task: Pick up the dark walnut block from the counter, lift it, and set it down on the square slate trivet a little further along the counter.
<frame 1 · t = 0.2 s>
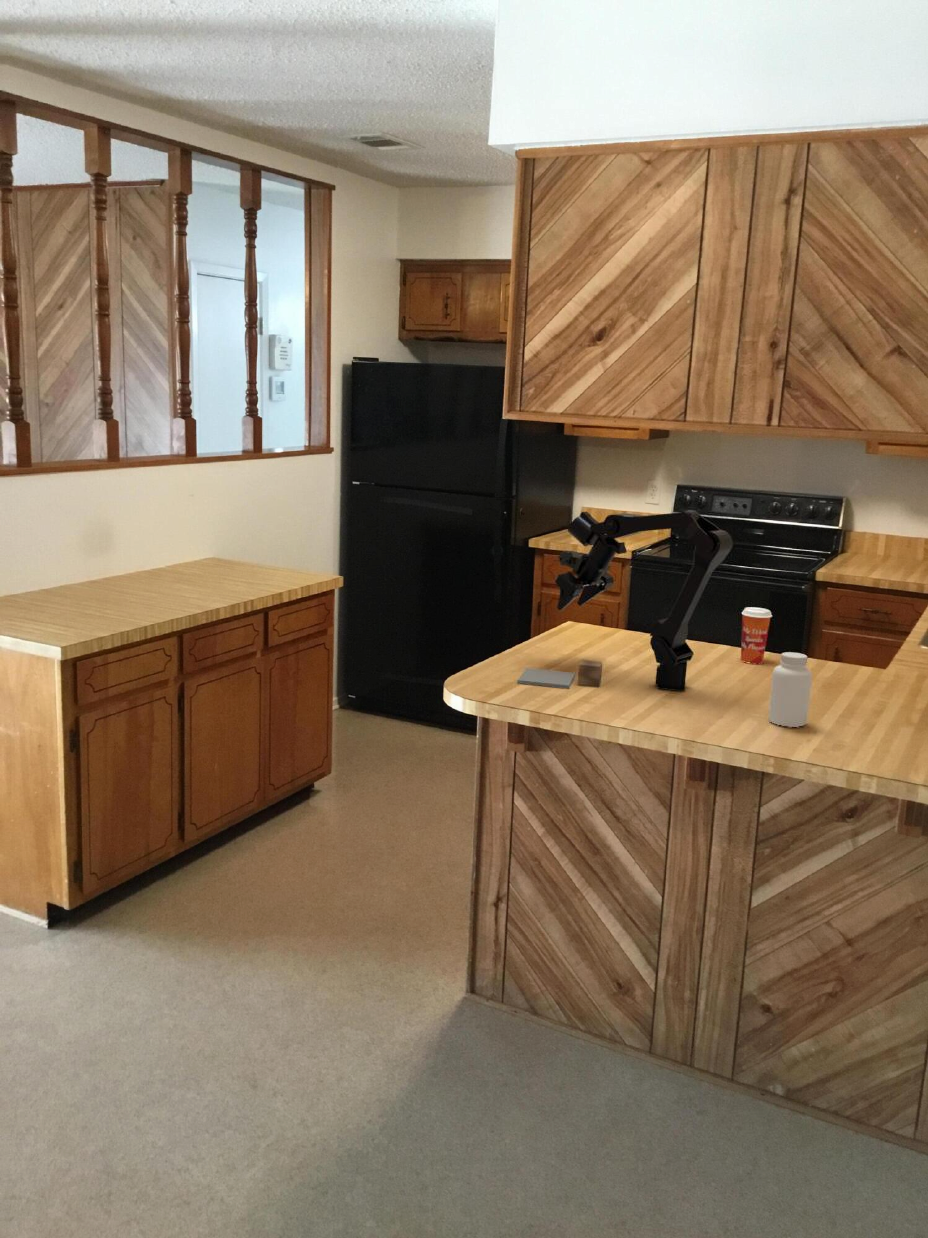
hand: (568, 607, 270), 14 cm above the table, tool tilted 30°, fingers open, 9 cm apart
pill bottle: (786, 723, 230), on the table
paper cup: (751, 662, 284), on the table
slate trivet: (546, 679, 255), on the table
walnut block: (589, 683, 254), on the table
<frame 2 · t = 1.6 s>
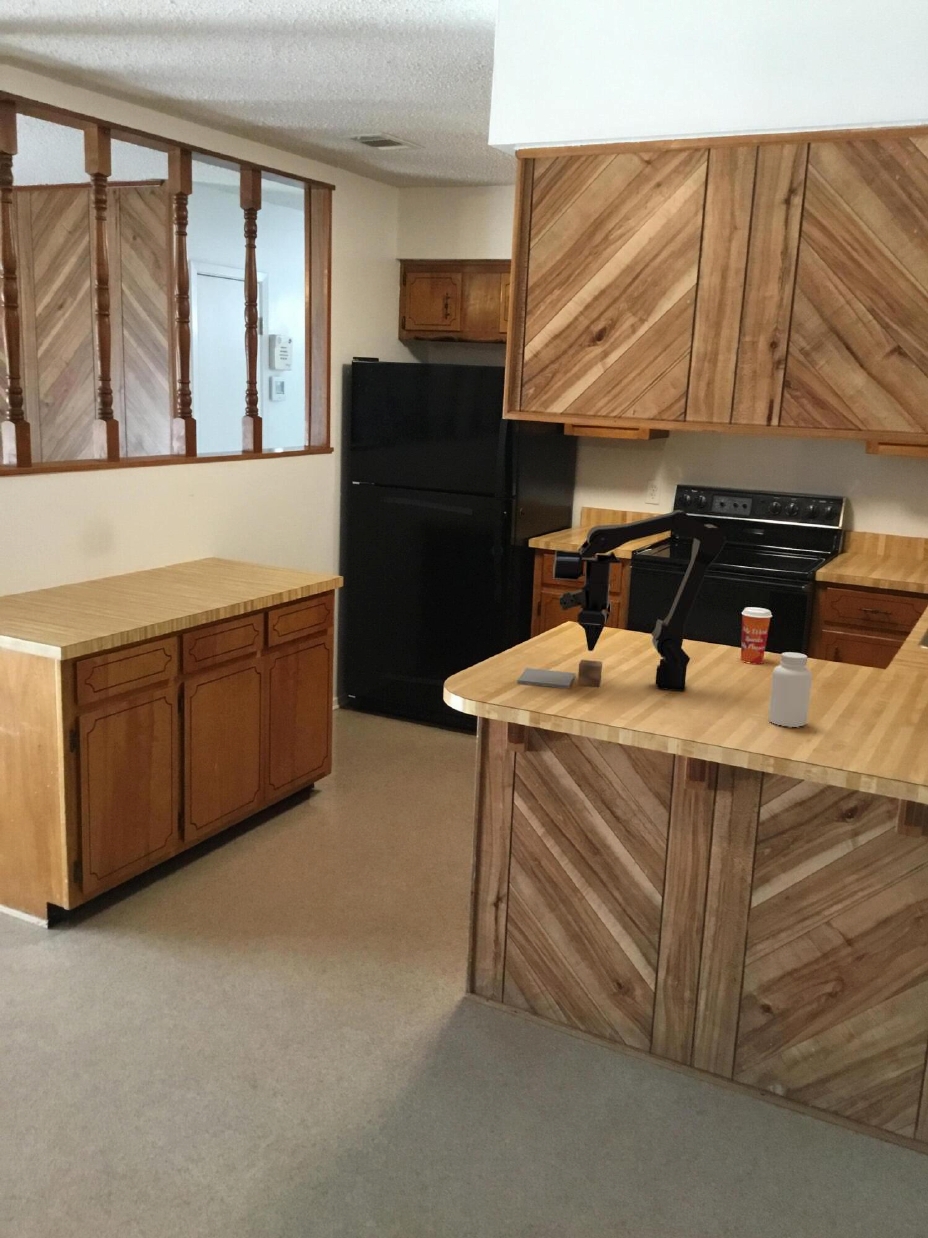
hand: (592, 646, 252), 9 cm above the table, tool pointing down, fingers open, 9 cm apart
nothing on the table moved.
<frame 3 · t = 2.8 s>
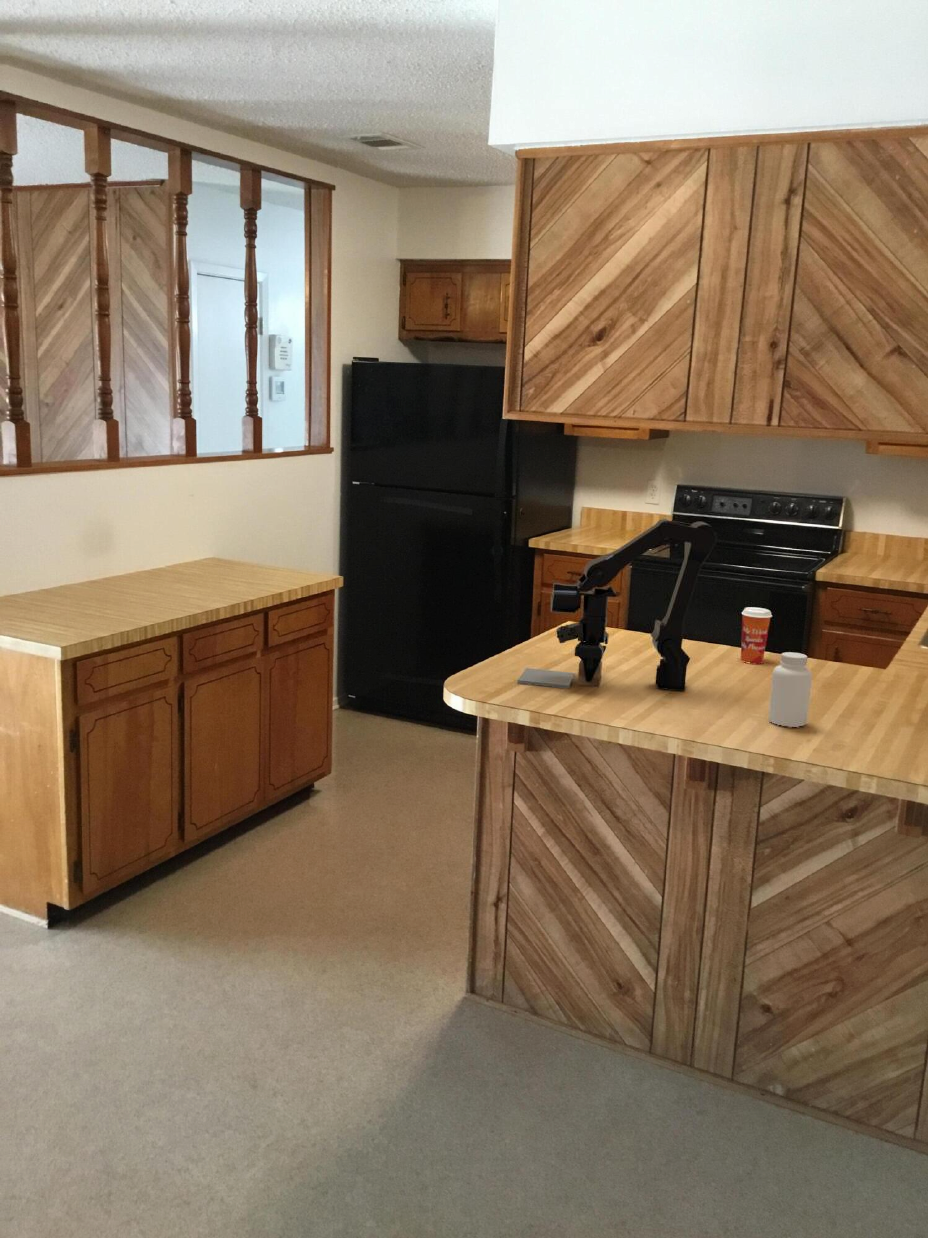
hand: (589, 678, 254), 1 cm above the table, tool pointing down, fingers closed on walnut block, 5 cm apart
walnut block: (589, 683, 254), on the table, touching gripper
everything else where it was.
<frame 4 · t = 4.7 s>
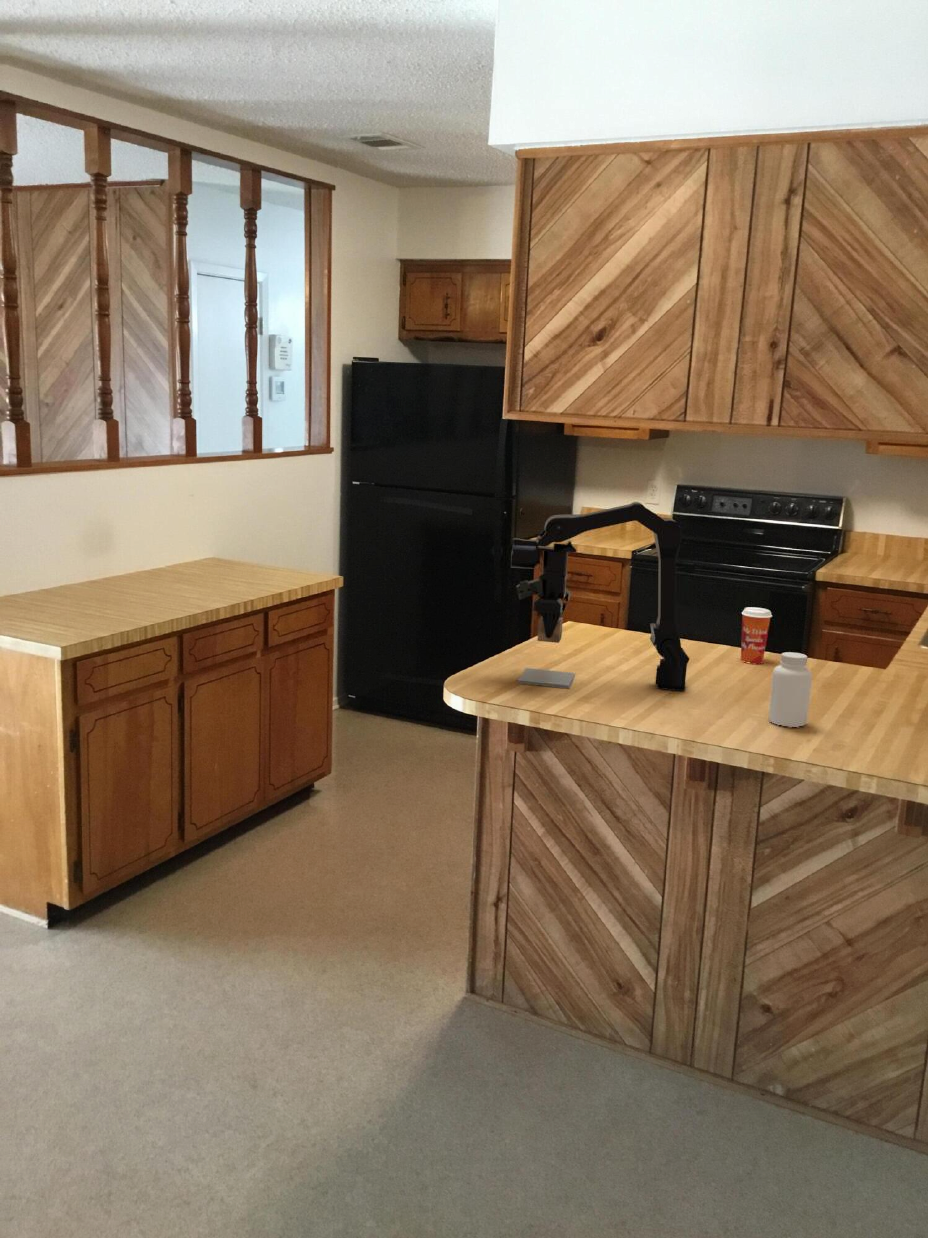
hand: (549, 635, 253), 11 cm above the table, tool pointing down, fingers closed on walnut block, 5 cm apart
walnut block: (549, 639, 253), point 10 cm above the table, touching gripper
everything else where it was.
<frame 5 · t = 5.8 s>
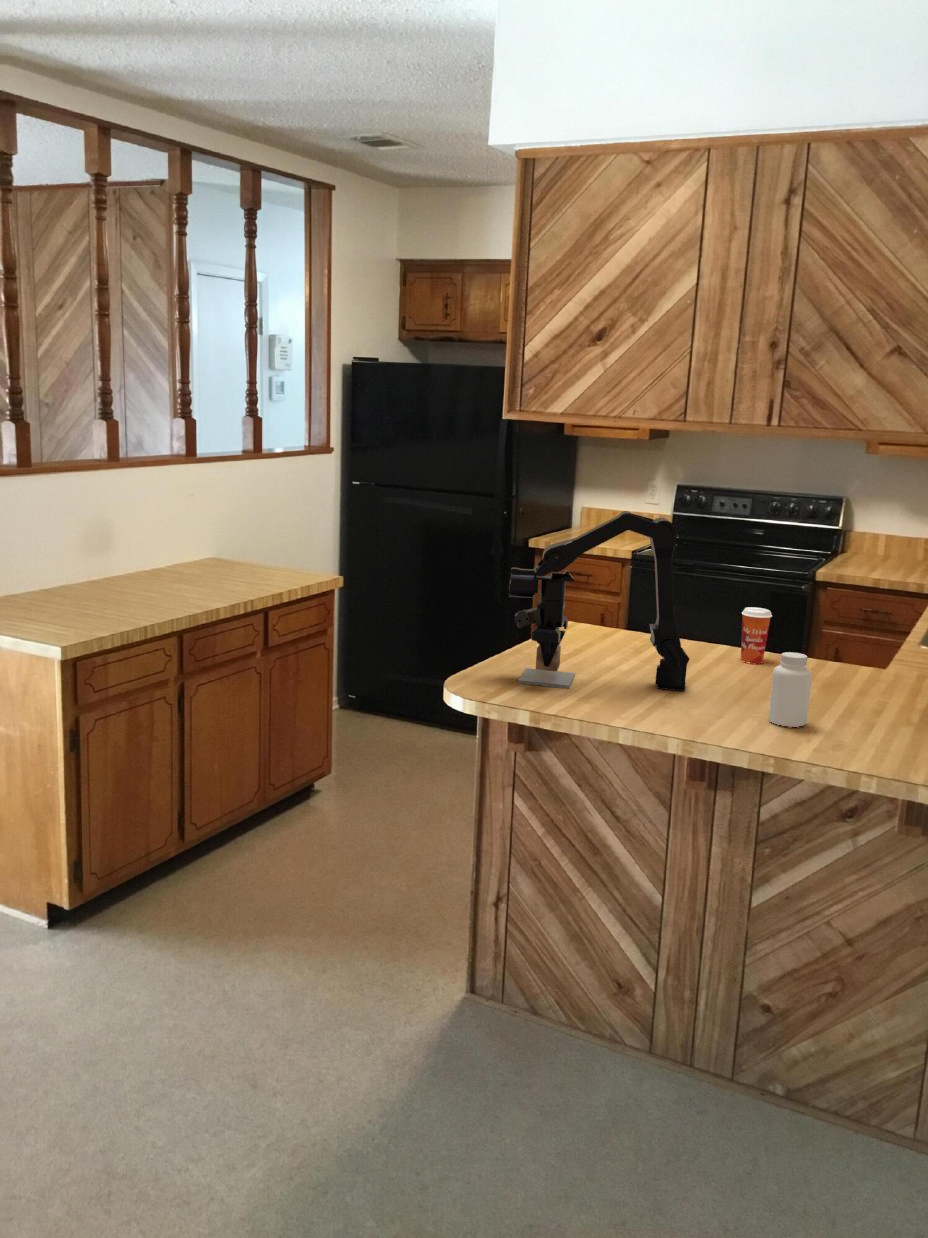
hand: (548, 663, 254), 4 cm above the table, tool pointing down, fingers closed on walnut block, 5 cm apart
walnut block: (547, 667, 254), point 3 cm above the table, touching gripper
everything else where it was.
when the fingers open (3 cm above the table, at t = 6.4 s): walnut block drops 1 cm, resting on slate trivet.
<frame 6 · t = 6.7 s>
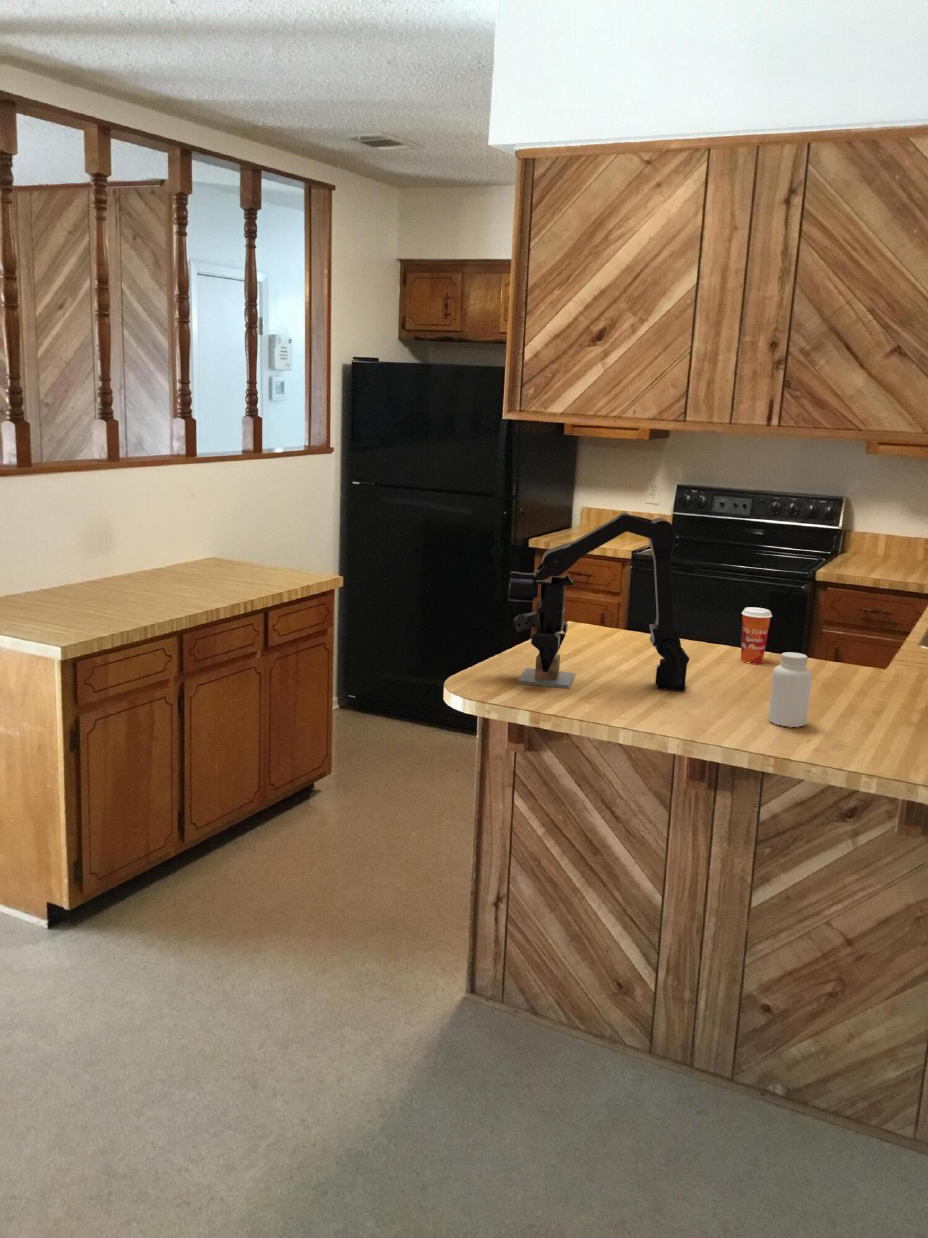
hand: (547, 667, 254), 3 cm above the table, tool pointing down, fingers open, 8 cm apart
walnut block: (546, 676, 255), point 1 cm above the table, touching slate trivet
everything else where it was.
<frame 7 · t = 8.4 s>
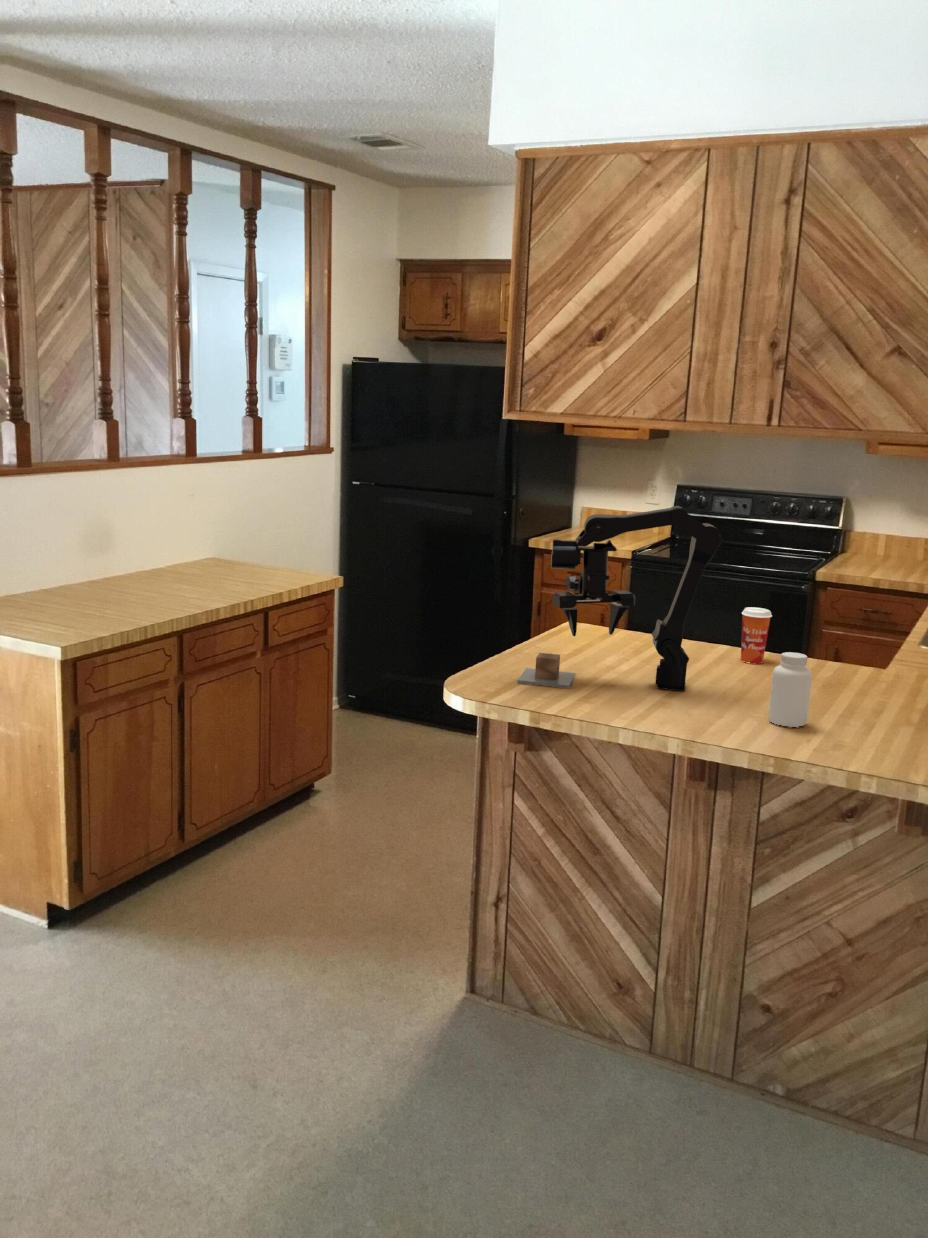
hand: (592, 635, 253), 11 cm above the table, tool pointing down, fingers open, 9 cm apart
nothing on the table moved.
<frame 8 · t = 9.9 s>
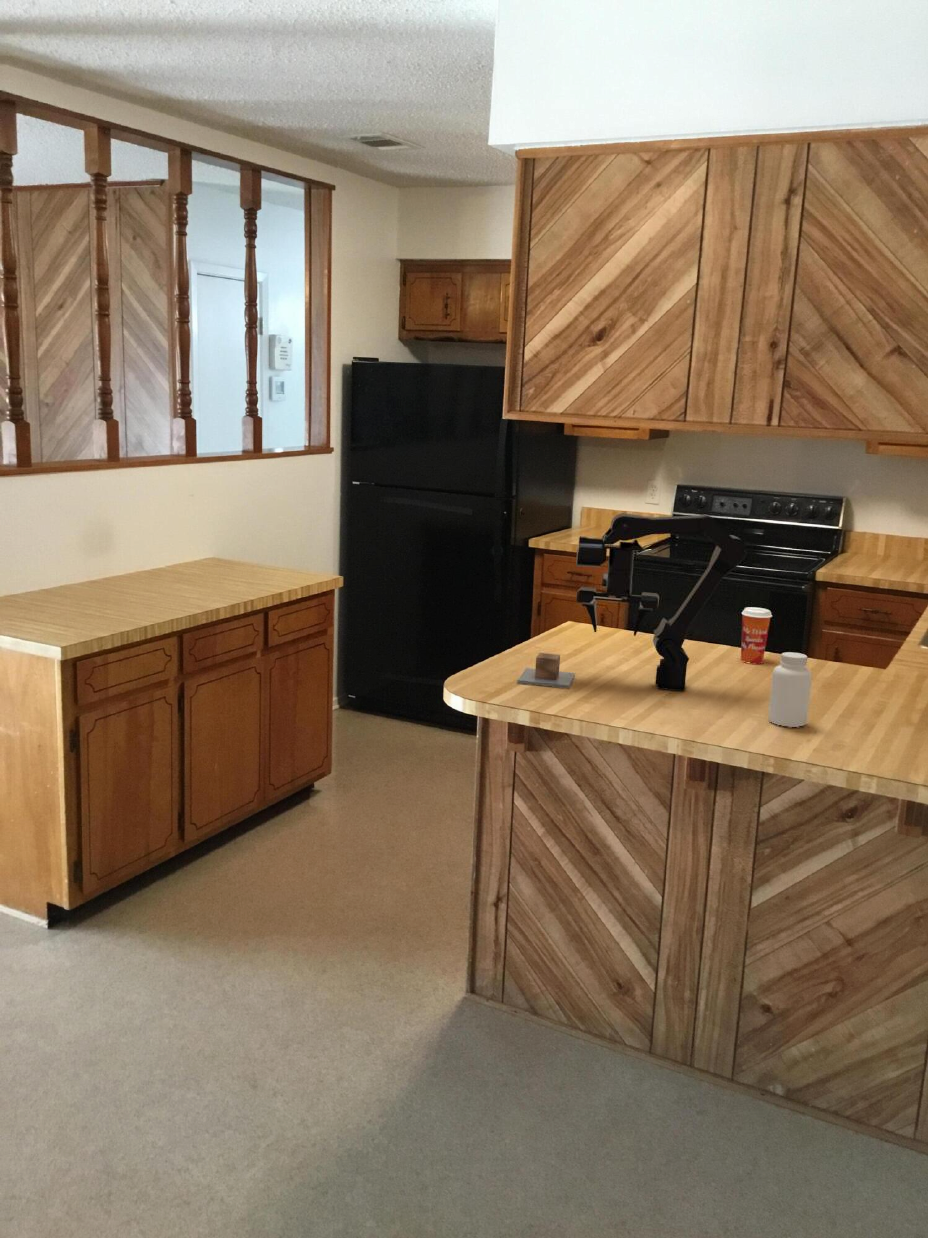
hand: (615, 633, 252), 12 cm above the table, tool pointing down, fingers open, 9 cm apart
nothing on the table moved.
at the end: walnut block inside the target area on the slate trivet (0.0 cm from its centre), point 0.8 cm above the slate trivet's base; walnut block tilted 0°; the gripper is holding nothing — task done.
